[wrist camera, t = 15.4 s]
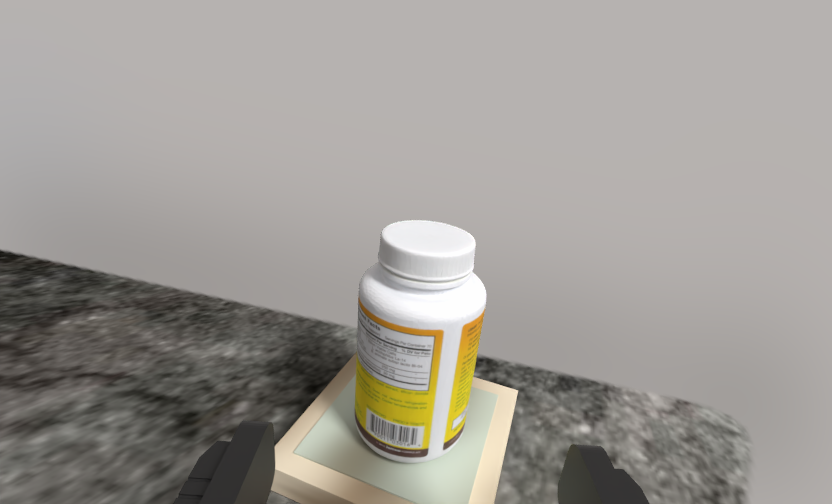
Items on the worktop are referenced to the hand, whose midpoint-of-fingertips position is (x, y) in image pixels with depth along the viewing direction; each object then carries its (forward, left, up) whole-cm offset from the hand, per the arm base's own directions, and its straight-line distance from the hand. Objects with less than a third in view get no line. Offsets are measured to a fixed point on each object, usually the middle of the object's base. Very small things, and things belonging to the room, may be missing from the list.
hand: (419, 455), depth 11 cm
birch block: (-3, +8, -8) cm, 12 cm away
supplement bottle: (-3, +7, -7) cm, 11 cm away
